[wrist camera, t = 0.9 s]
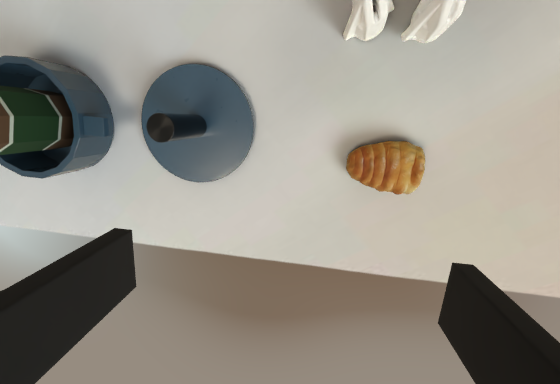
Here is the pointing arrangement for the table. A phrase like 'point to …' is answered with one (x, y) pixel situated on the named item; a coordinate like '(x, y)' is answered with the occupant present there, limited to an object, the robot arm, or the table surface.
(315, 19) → the table surface
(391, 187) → the pastry
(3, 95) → the beer bottle
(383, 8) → the shaker set
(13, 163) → the pot
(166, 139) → the lid
